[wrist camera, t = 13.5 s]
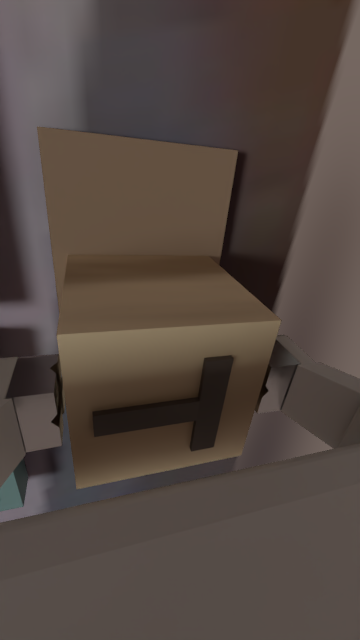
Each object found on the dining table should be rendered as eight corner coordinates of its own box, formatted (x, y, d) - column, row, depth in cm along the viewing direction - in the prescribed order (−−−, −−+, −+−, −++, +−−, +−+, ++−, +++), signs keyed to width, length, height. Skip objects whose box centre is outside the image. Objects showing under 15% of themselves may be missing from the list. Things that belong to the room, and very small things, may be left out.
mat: (39, 127, 8) (36, 126, 8) (230, 150, 10) (238, 150, 10) (73, 422, 14) (73, 432, 14) (191, 405, 16) (194, 413, 15)
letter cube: (67, 254, 10) (56, 339, 6) (207, 255, 11) (285, 323, 7) (79, 372, 12) (76, 494, 8) (192, 361, 14) (242, 459, 9)
